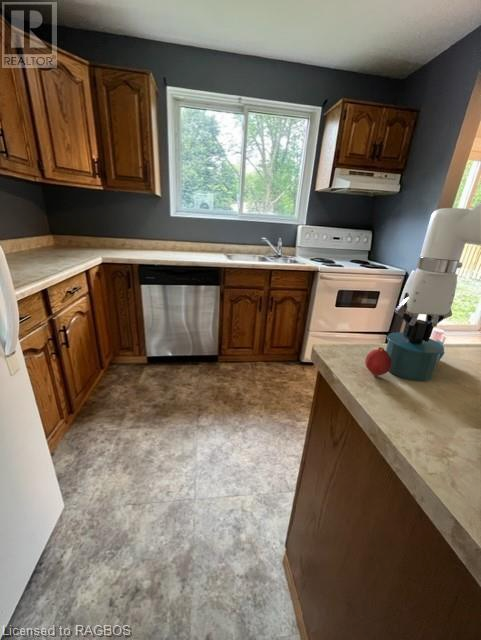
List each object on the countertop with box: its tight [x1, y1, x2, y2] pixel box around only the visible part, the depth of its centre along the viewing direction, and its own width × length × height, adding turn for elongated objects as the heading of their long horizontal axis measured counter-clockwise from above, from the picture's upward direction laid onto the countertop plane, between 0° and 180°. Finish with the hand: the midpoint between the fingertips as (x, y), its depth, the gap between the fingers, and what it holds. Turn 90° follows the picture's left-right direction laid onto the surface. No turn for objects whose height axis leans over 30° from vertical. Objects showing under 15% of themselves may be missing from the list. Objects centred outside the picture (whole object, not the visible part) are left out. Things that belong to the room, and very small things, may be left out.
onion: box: [364, 346, 392, 377], centre depth 67 cm, size 6×6×8 cm
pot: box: [385, 340, 440, 382], centre depth 70 cm, size 11×11×8 cm
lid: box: [386, 318, 445, 355], centre depth 68 cm, size 12×12×7 cm
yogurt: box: [435, 339, 445, 364], centre depth 74 cm, size 12×2×6 cm, turn 145°
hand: (415, 338), depth 69 cm, fingers closed on lid, 3 cm apart
